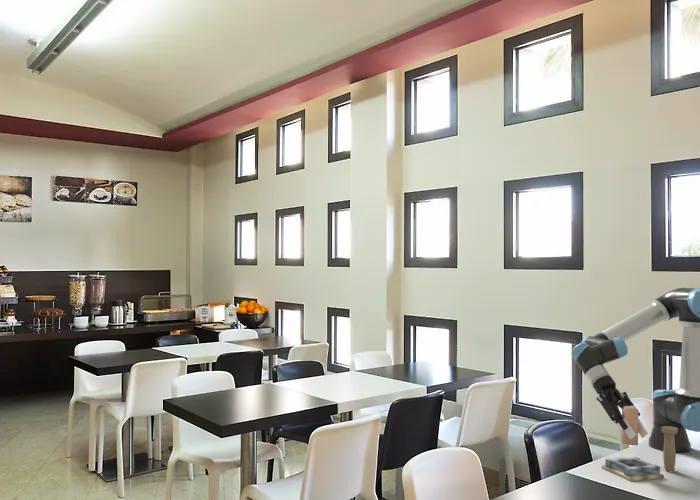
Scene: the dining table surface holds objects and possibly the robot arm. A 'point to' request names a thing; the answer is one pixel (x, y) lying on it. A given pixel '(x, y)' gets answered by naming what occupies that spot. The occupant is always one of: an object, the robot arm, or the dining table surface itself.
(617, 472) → the square frame tray
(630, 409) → the copper orange rectangular block
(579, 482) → the dining table surface
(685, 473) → the dining table surface
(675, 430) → the handle
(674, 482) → the dining table surface
